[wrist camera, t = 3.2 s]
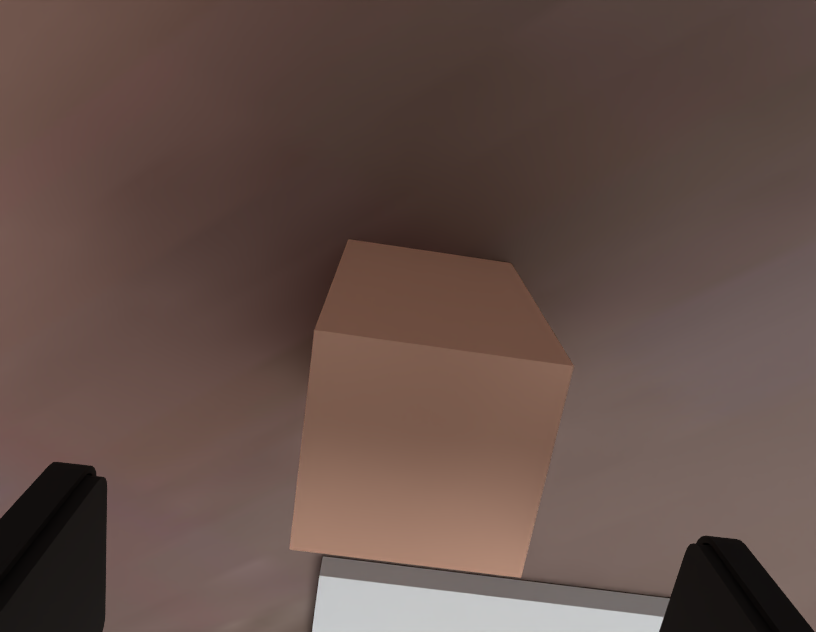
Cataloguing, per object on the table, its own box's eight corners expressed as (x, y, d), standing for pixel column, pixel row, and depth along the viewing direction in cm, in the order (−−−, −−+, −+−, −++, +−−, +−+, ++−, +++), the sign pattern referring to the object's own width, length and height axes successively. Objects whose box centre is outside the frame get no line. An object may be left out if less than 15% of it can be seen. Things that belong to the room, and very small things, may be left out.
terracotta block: (348, 238, 20) (314, 330, 13) (510, 263, 20) (574, 366, 13) (329, 388, 22) (289, 549, 14) (480, 409, 22) (521, 578, 14)
